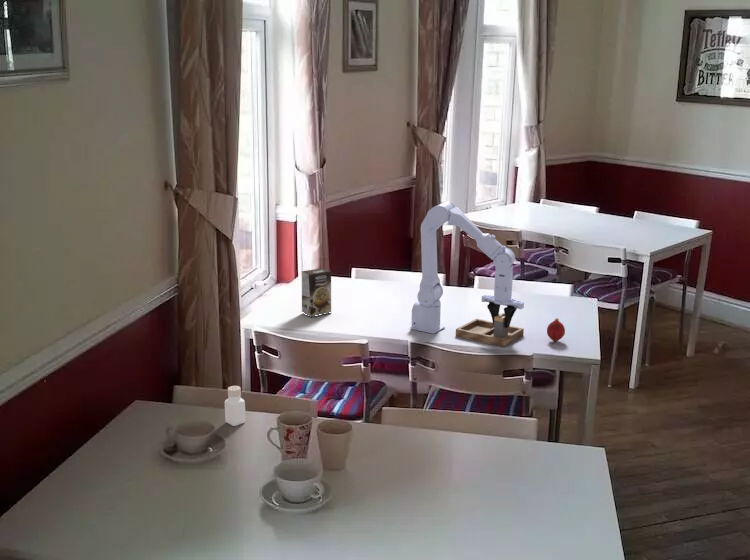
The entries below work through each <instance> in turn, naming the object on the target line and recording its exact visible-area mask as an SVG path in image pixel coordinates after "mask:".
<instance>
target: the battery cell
mask: <svg viewBox="0 0 750 560" xmlns="http://www.w3.org/2000/svg"><path fill="white" fill-rule="evenodd" d="M506 336H508V328H505V313H503V312H502V313H499V315H497V316H495V317H494V337H499V338H504V337H506Z"/></svg>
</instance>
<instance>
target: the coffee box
mask: <svg viewBox="0 0 750 560" xmlns="http://www.w3.org/2000/svg"><path fill="white" fill-rule="evenodd" d="M302 312H304V313H305V314H307V315H309V316H315V315H319V314H324V313H329V312H331V313H332V270H330V269H326V268H323V267H319V268H314V269H309V270H308V269H307V270H303V271H302V270H301V313H302Z"/></svg>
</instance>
